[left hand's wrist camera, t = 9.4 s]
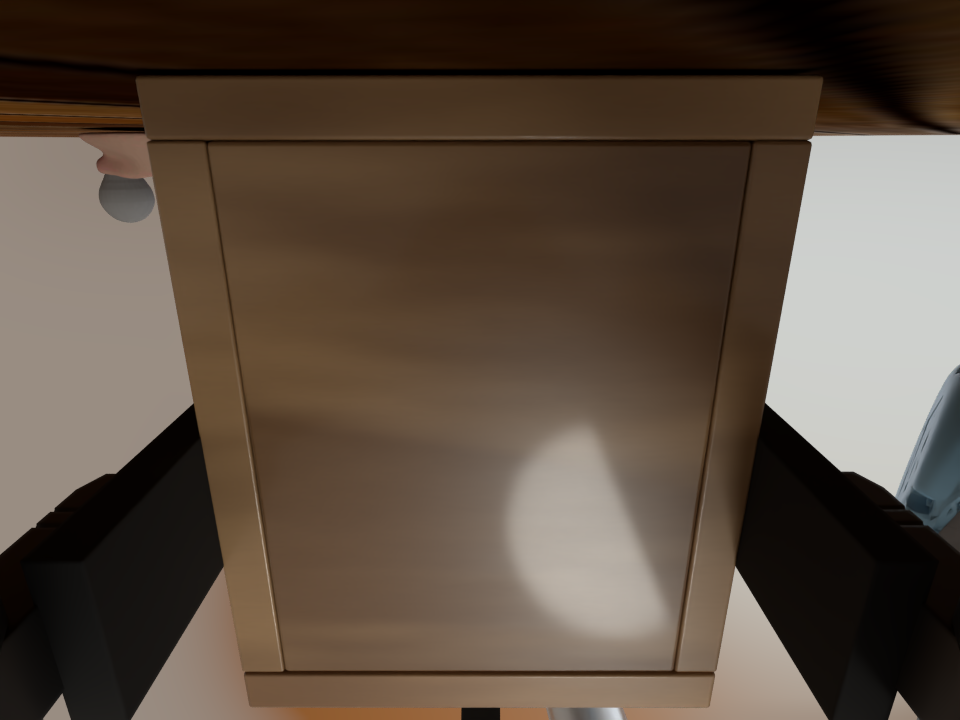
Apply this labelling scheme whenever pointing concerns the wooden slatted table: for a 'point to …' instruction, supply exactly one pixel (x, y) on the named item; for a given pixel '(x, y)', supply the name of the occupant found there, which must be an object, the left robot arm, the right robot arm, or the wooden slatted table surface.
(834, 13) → the wooden slatted table surface
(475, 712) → the right robot arm
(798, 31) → the wooden slatted table surface
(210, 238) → the chest
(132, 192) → the light bulb
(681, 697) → the lid
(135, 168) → the anatomical model
